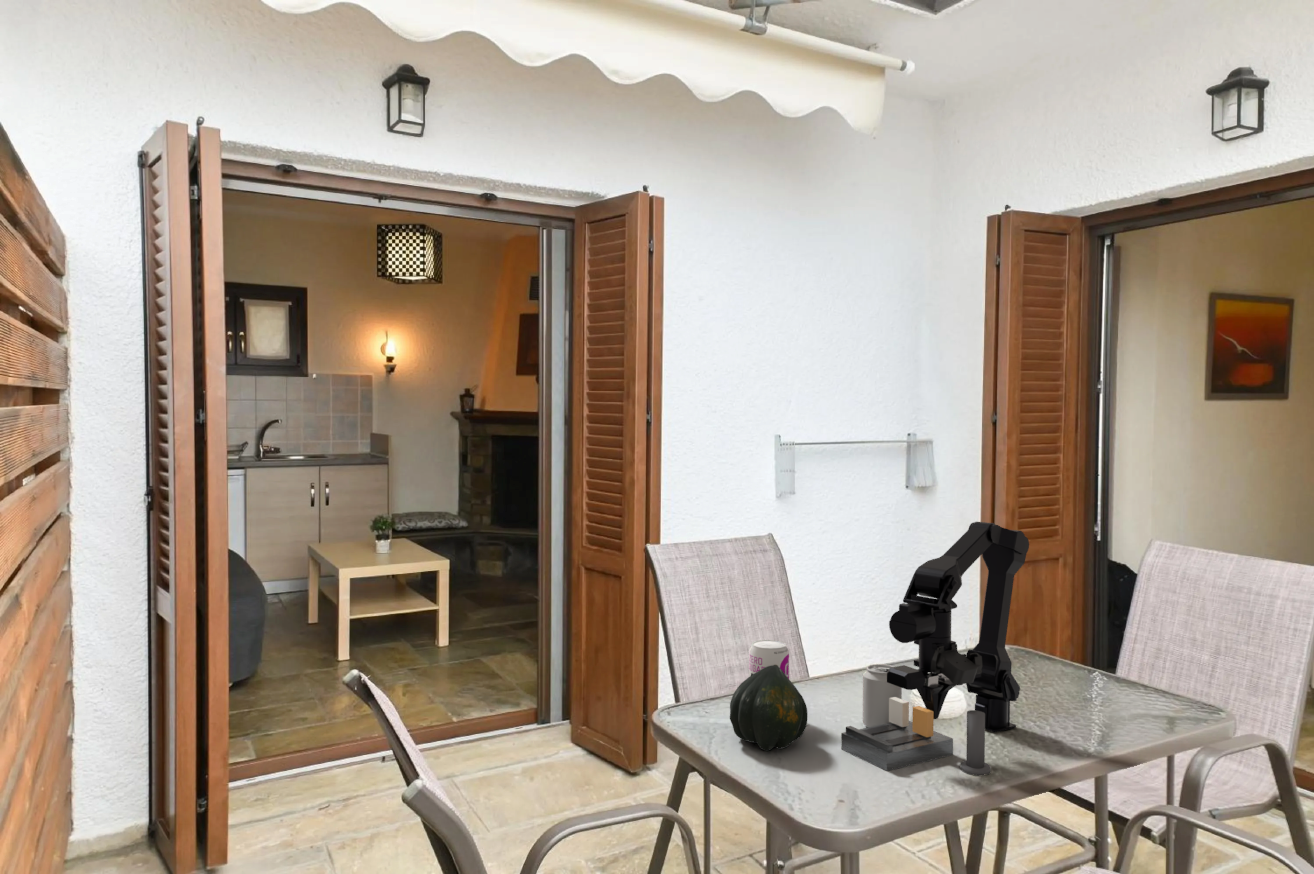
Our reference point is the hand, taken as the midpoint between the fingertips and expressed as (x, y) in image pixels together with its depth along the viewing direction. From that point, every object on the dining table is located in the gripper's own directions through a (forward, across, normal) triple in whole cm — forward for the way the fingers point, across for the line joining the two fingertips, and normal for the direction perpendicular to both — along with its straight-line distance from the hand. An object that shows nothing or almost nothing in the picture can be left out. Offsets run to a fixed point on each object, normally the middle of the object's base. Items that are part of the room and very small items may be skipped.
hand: (934, 718), depth 168 cm
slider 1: (+2, -3, +6) cm, 7 cm away
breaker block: (+6, -7, +2) cm, 9 cm away
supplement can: (+6, -16, +30) cm, 34 cm away
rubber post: (+6, -1, -10) cm, 12 cm away
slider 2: (+2, -3, 0) cm, 4 cm away
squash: (+6, -25, +18) cm, 31 cm away
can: (+6, 0, +14) cm, 15 cm away
